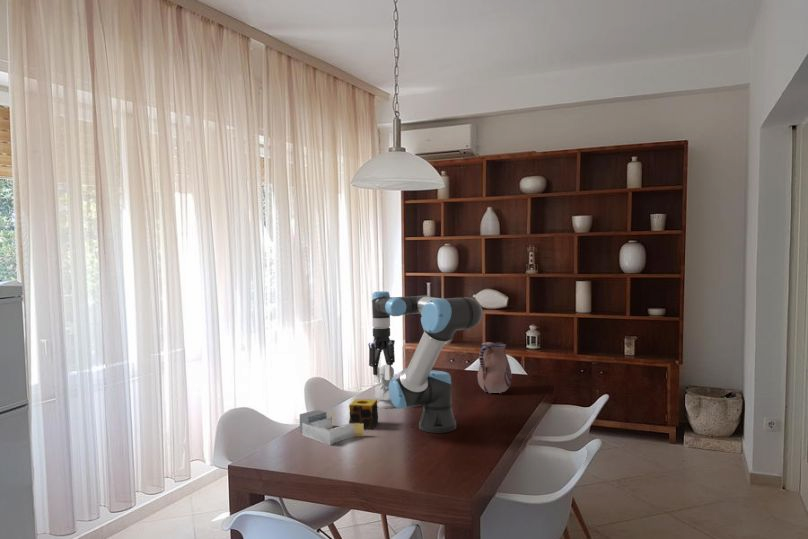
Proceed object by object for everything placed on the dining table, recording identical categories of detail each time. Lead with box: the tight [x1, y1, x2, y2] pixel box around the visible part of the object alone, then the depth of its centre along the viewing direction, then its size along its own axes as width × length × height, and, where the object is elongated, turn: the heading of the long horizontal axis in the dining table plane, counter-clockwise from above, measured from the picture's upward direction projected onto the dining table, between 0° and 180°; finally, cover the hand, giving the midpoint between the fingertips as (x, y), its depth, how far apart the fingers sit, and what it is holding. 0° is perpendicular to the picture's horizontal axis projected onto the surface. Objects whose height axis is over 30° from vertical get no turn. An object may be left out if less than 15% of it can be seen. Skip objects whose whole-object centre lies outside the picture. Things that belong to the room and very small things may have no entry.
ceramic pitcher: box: [476, 341, 513, 394], centre depth 285 cm, size 18×21×25 cm
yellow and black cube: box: [348, 398, 379, 430], centre depth 233 cm, size 10×10×10 cm
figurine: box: [374, 364, 396, 409], centre depth 263 cm, size 9×13×20 cm
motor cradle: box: [299, 409, 365, 446], centre depth 222 cm, size 24×16×7 cm
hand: (382, 380), depth 241 cm, fingers open, 6 cm apart
